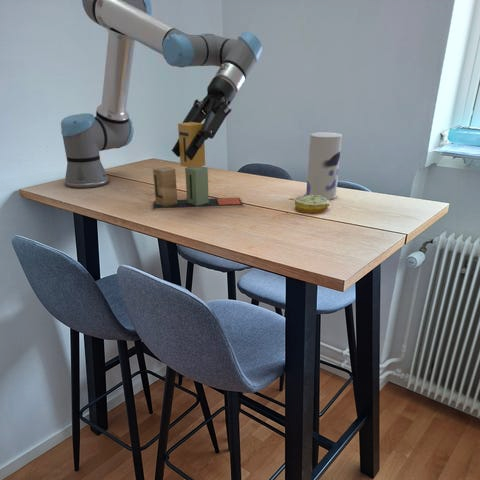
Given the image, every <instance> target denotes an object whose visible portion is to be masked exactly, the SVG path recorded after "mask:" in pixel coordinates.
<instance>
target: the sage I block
mask: <svg viewBox="0 0 480 480" xmlns="http://www.w3.org/2000/svg"><path fill="white" fill-rule="evenodd" d="M184 170H185V171H184V173H185V188H186V189H185V190H186V199H187V203H190V204H193V205H196V206H198V205H202V204H206V203H209V199H210V197H209V168H208V167H206V166H200V167H195V168H189V167H184Z"/></svg>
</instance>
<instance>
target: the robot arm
mask: <svg viewBox="0 0 480 480" xmlns="http://www.w3.org/2000/svg"><path fill="white" fill-rule="evenodd" d="M81 3H82V7H83V10H84V13H85V14H86V16H87V17H88V18H89V19H90V20H91V21H93V22H94V23H95V24H97V25H99V26H101V27H103V28H104V29H106V31H107V33H108V35H107V36H108V37H107V45H106V55H105V66H104V76H103V83H102V85H103V86H102V96H101V104H99V105H97V107H96V110H95V111H96V112H95V116H94V114H92V113H87V112H86V113H75V114H72V115H68V116H66V117H64V118H63V119H62V120H61V122H60V130H61V132H60V133H61V136H62V140H63V146H64V152H65V158H66V163H67V165H66V169H65V177H64V180H65V181H64V182H65V185H66V187H69V188H72V189H73V188H74V189H75V188H76V189H90V188H96V187H101V186H105V185H107V184H108V183H109V176H108V174H107V172H106V170H105V168H104V165H103V164H102V161H101V157H100V156H101V155H100V152H102V151H108V150H113V149H121V148H122V147H126V146H128V145H129V144H130V143H131V142H132V140H133V137H134V133H135V132H134V131H135V130H134V126H133V121H132V120H131V118H130V114H129V112H128V111H127V104H128V103H127V102H128V96H129V89H130V83H131V82H130V81H131V73H132V65H133V59H134V50H135V45H136V42H137V43H139V44H141V45H144V46H145V47H147V48H148V49H151V50H152V51H154V52H156V53H158V54H159V55H162V56H163V59H164V60H165V62H166V63H167V64H168V65H169V66H171V67H177V68H186V67H210V66H212V67H218V70H217V71H216V73H215V75H214V77H213V78H212V79H211V81H210V82H209V84H208V86H207V87H206V90H207V92H206V93H207V94H206V96H205V97H204V98H202V100H199V99H195V100H194V101H193V105H192V106H191V108H190V110H189V112H188V113H187V114H186V116H185V118H184V119H183V121H182V122H181V123H188V122H196V123H202V122H203V123H202V124H203V126H202V128H201V130H198V132H199V133H200V135H199V134H198V133H197V134H196V136H195V137H194V139H193V140H192V142H191V144H190V145H189V147H188V148H187V150H186V151H185V153H184V154H185V155H186V156H187V157H188V158H189V159H190V160H192V159H193V158H194V156H195V154H196V153H197V151H198V150H199V149H200V148H201V146H202V144H203V143H204V144H205V142H206V141H207V140H208V139H211V140H212V139H213V138H215V136H216V134H217V133H218V131H219V129H220V128H221V126H222V124H223V123H224V121H225V119H226V118H227V116H228V115H229V114H230V113H231V112H232V108H231V107H230V105H231V104H232V102H233V100H234V99H235V97H236V96H237V95H236V94H238V93H239V91H240V90H241V88H242V86H243V85H244V83H245V81H246V79H247V77H248V76H249V74H250V73H251V71H252V69H253V68H254V67H255V65H257V63H258V60H259V58H260V56H261V54H262V52H263V48H264V47H263V44H262V42H261V39H260V38H259V37H258V36H257V35H256V34H254V32H252V31H247V30H245V31H243V32H241V33H240V35H239V36H237V39H236V38H229V37H225V36H219V35H216V34H213V33H200V34H189V33H186V32H184V31H182V30H180V29H178V28H176V27H175V26H172V25H171V24H169V23H167V22H165V21H162V20H161V19H159V18H157V17H155V16H153V15H152V13H153V11H152V3H151V0H81ZM171 152H173V154H174V155H175V156H176V157H177V158H180V149H179V138H178V139H177V141H176V142H175V143H174V146H173V148H172V149H171Z"/></svg>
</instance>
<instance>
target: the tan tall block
mask: <svg viewBox="0 0 480 480" xmlns="http://www.w3.org/2000/svg"><path fill="white" fill-rule="evenodd" d="M152 176H153V189H154V198H155V199H154V201H155V200H156V204H158V205H161V206H164V207H167V206H171V205H175V204H178V202H177V200H178V189H177V173H176V168H175V167H174V168H173V167H171V166H167V165H166V166H165V165H164V166H159V167H154V168H152Z"/></svg>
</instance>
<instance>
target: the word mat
mask: <svg viewBox="0 0 480 480" xmlns="http://www.w3.org/2000/svg"><path fill="white" fill-rule="evenodd" d="M153 201H154V202H153V209H154V210H155V209H157V210H158V209H179V208H180V209H181V208H184V209H185V208H209V207H237V206H243V203H242V201H241V198H240V197H217V198H213V197H212V198H209V203H206V204H202V205H198V206H196V205H193V204H190V203H187V198H185V199H177V202H178V204H175V205H171V206H167V207H164V206H161V205H158V204H156V200H155V199H154V200H153Z"/></svg>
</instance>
